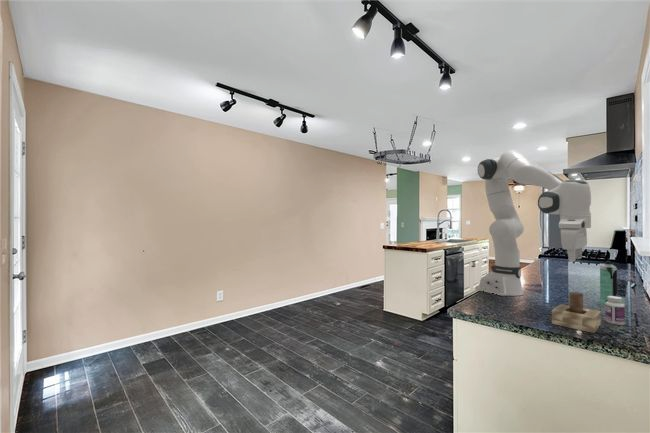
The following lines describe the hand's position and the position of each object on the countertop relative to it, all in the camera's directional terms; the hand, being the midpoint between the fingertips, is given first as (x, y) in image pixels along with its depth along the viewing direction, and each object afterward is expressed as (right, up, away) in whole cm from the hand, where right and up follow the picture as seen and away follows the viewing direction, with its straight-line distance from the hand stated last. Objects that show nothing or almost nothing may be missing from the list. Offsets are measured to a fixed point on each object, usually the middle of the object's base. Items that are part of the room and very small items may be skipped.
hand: (575, 260), depth 111 cm
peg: (0, -23, 0) cm, 23 cm away
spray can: (+33, -24, +21) cm, 46 cm away
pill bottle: (+16, -24, +1) cm, 29 cm away
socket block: (0, -24, 0) cm, 24 cm away
